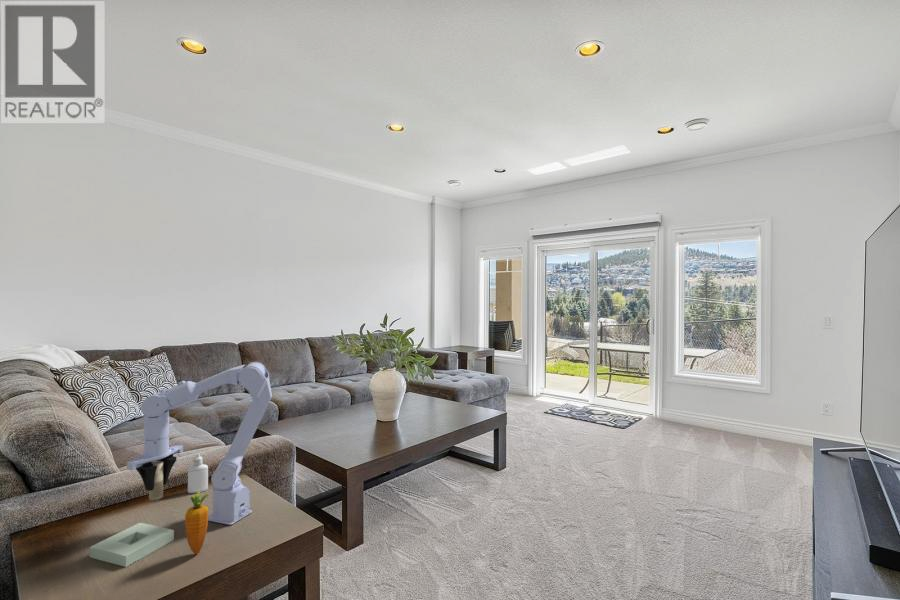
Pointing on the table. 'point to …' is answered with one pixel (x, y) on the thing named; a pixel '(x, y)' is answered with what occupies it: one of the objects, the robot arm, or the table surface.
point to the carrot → (196, 523)
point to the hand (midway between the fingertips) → (156, 487)
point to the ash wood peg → (157, 482)
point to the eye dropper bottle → (198, 476)
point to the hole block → (131, 544)
